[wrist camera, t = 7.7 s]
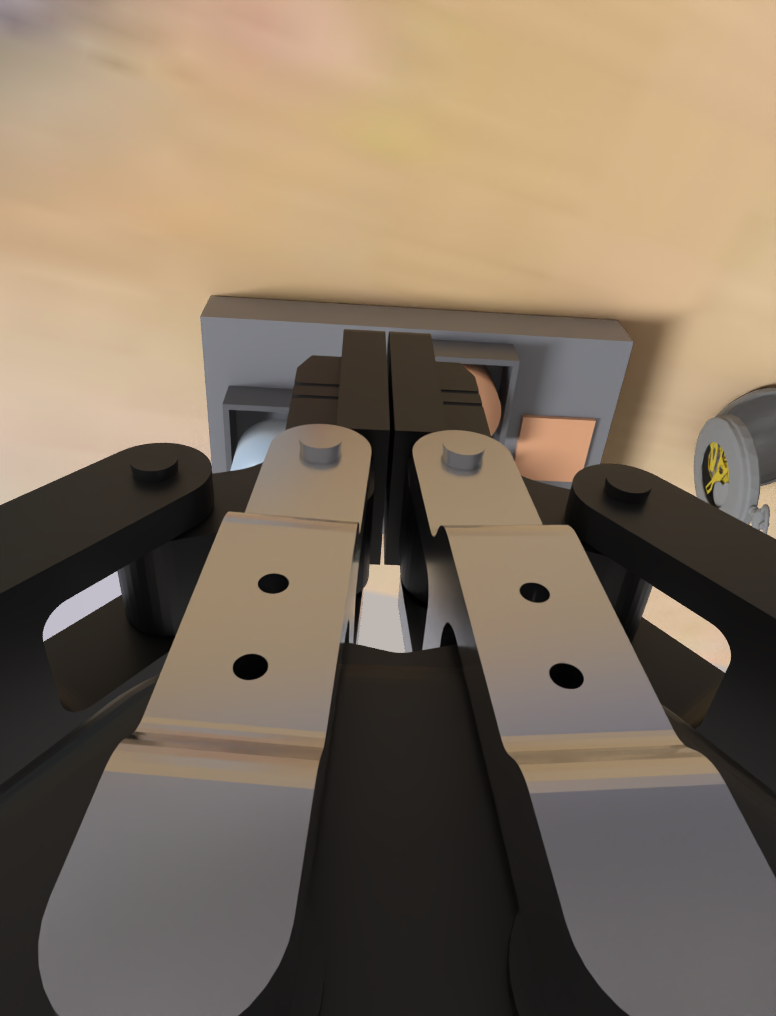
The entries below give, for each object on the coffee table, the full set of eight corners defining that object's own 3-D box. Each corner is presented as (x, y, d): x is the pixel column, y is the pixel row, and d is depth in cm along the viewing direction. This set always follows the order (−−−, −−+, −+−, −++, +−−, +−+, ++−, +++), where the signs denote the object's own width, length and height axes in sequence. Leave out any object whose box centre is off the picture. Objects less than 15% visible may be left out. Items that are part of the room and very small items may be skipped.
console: (617, 320, 41) (646, 358, 36) (567, 513, 48) (586, 563, 44) (210, 295, 39) (192, 332, 35) (224, 498, 47) (210, 548, 43)
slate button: (321, 421, 38) (319, 445, 36) (320, 493, 40) (317, 519, 38) (234, 417, 38) (227, 441, 36) (238, 489, 40) (231, 515, 38)
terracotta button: (500, 357, 38) (507, 377, 36) (487, 431, 41) (493, 454, 39) (415, 352, 38) (417, 372, 36) (407, 427, 40) (409, 450, 38)
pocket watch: (827, 441, 45) (929, 541, 37) (699, 510, 48) (767, 617, 40) (780, 341, 42) (881, 428, 33) (643, 422, 44) (706, 521, 36)
